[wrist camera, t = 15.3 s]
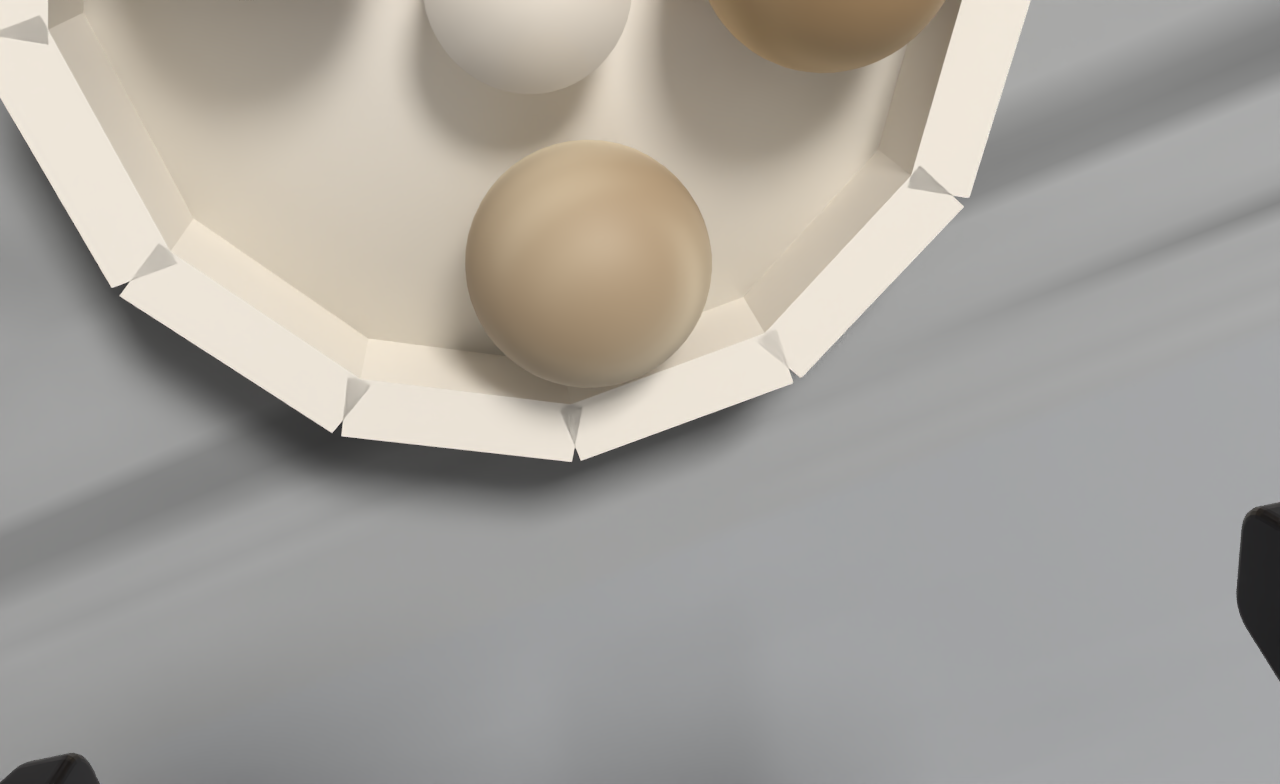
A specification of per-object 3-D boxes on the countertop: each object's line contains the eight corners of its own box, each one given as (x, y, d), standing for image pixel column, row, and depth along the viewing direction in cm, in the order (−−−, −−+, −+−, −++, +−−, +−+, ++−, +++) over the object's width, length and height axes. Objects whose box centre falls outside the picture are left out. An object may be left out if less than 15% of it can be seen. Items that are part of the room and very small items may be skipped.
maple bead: (720, 245, 20) (791, 319, 17) (549, 377, 20) (586, 476, 17) (591, 69, 18) (642, 115, 15) (407, 215, 19) (419, 290, 15)
